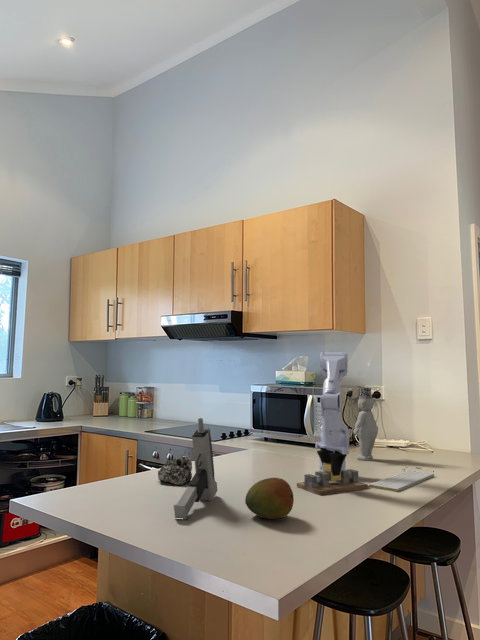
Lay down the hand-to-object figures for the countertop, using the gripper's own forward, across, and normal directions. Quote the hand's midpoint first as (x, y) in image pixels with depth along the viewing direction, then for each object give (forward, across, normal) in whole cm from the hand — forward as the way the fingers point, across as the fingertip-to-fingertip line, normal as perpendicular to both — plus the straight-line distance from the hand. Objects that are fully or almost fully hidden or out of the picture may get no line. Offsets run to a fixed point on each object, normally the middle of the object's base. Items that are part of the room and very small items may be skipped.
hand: (331, 474), depth 154 cm
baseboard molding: (+5, +3, +27) cm, 28 cm away
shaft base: (+4, 0, 0) cm, 4 cm away
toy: (+4, -32, +45) cm, 55 cm away
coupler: (+2, 0, 0) cm, 2 cm away
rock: (+5, -30, -41) cm, 52 cm away
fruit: (+4, +18, -35) cm, 40 cm away
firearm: (+4, 0, -47) cm, 47 cm away
